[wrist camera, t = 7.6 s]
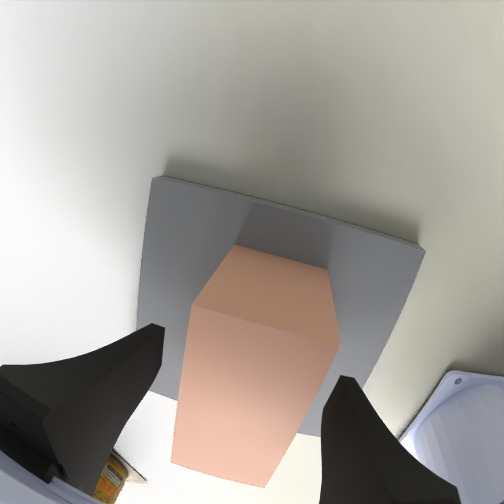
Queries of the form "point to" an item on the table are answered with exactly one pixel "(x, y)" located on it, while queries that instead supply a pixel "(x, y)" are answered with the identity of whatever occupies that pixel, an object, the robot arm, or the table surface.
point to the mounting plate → (279, 244)
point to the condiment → (114, 479)
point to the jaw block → (252, 364)
